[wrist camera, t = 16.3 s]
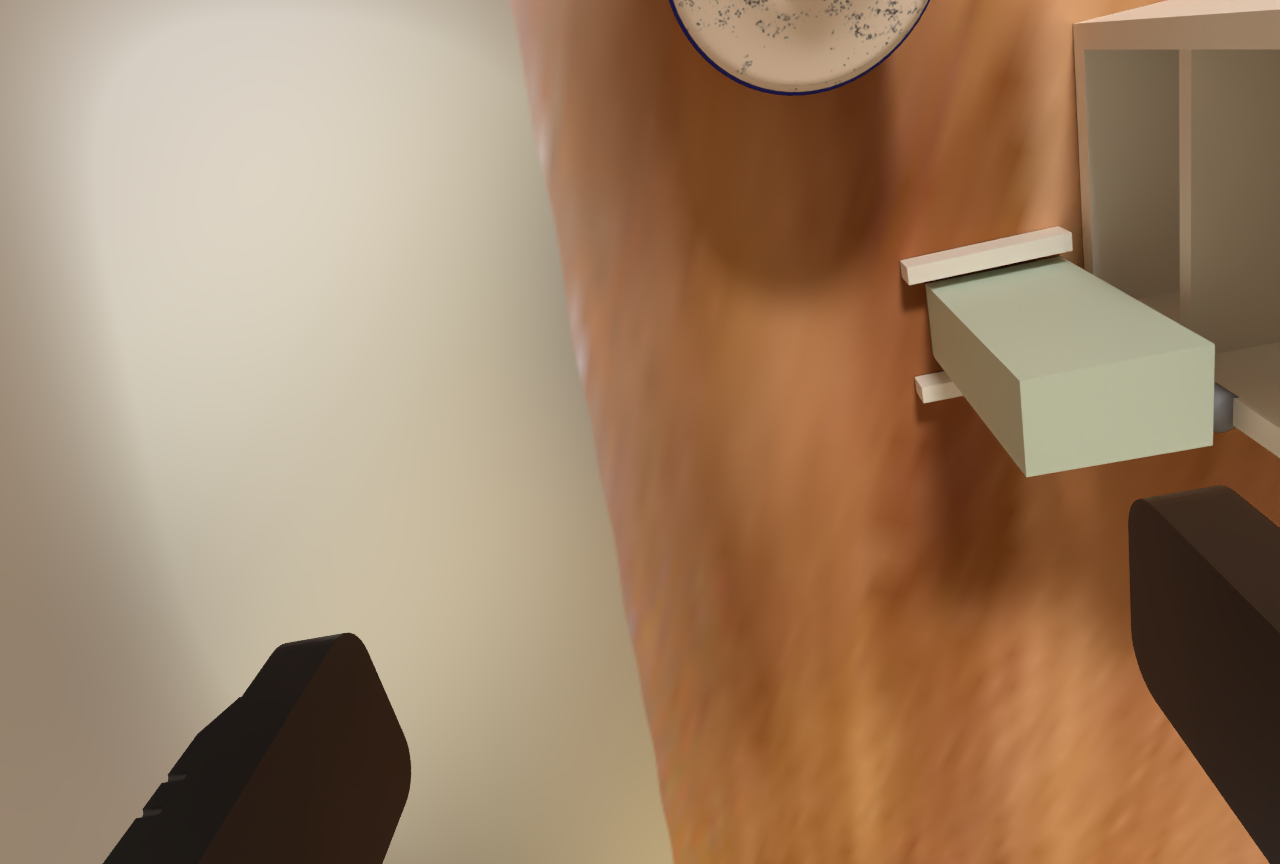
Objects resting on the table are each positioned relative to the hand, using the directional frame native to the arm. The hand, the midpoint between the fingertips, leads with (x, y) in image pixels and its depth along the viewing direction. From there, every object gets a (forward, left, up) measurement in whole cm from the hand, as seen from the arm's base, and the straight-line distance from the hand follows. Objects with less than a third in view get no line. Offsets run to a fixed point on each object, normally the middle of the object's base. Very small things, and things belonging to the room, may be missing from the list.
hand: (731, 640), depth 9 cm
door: (+8, +12, -33) cm, 36 cm away
